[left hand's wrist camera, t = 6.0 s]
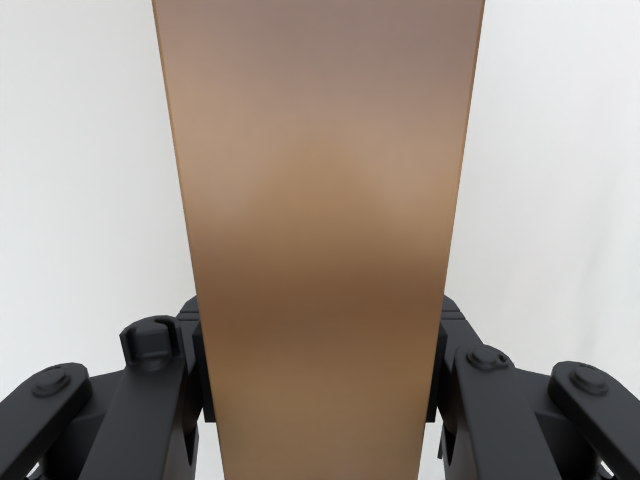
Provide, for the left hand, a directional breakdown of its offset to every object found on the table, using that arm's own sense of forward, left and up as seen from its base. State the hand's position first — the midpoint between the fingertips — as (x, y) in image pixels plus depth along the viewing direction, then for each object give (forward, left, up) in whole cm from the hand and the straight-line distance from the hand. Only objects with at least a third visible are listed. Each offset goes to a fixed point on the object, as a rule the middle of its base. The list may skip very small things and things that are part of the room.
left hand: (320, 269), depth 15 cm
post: (+21, -15, -1) cm, 26 cm away
